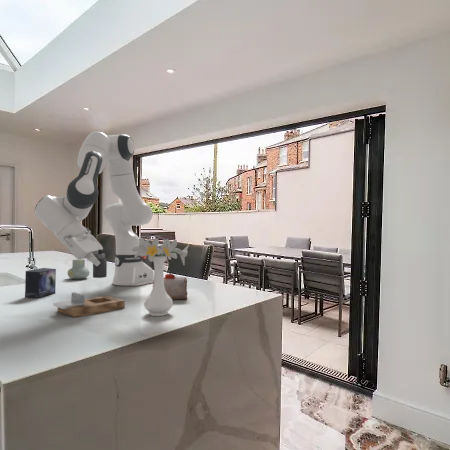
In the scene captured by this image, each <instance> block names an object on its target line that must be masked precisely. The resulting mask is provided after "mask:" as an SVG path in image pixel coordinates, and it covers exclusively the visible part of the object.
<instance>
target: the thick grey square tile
mask: <svg viewBox="0 0 450 450" xmlns="http://www.w3.org/2000/svg"><path fill="white" fill-rule="evenodd" d="M84 299H85V295H84V294H82V293H78V292H75V291H73V292H71V299H70V300H63V301H56V302H53V303H52V304H53V306H54V307H56V308H58V307H59V308H61V309H66V308H72V307H78V306H83V305H84Z"/></svg>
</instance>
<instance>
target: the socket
mask: <svg viewBox="0 0 450 450" xmlns="http://www.w3.org/2000/svg"><path fill="white" fill-rule="evenodd" d="M125 306H126V305H125V300H124V299H120V298H117V297H114V296H110V295H103V296H102V295H101V296H94V297H89V298H84V305H83V306H78V307H72V308H66V309H61V308H59V307H57V311H58V312H59V313H62V314H65V315H66V316H69V317H71V318H74V319H75V318H79V317H80V318H81V317H85V316H91V315H95V314H99V313H105V312H111V311H115V310H121V309H125V308H126V307H125Z"/></svg>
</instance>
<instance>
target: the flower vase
mask: <svg viewBox="0 0 450 450" xmlns="http://www.w3.org/2000/svg"><path fill="white" fill-rule="evenodd" d="M159 242H160V241H159V239H158V238H153V239H152V244H151V243H150V239H149V238H147V239H146V240H145V239H144V237H141V238H139V246H137V247H134V248H133V249H132V251H134V252H137V253H136V254H135V257H137V256H139V255H140V256H146V257H147V256H148V261H149V262H151V263H152V262H153V268H154V270H153V273H154V285H153V284H152V290H151V292H150V294H149V295H148V296H147V297H146V298H145V299H144V303H143V306H144V309H145V310H147V312H148V314H149V316H152V317H163V316H167V315H168V314H169V311H170V310H171V309H172V307H173V306H174V302H173V301H174V300H172V299H171V297H170V296H169V295H168V294H167V292H166V290H165V287H164V277H165V275H164V270H165V269H164V267H165V266H164V265H165V261H166V258H167V259H168V260H169V261H171V260H172V258H173V259H175V260H176V259H178V255H179V257H180V259H181V262H182V265H183V266H185V261H186V259H185V258H186V257H187V256H188V252H189V251H188V249H189V247H190V244H188V245H186V247H184V249H180V248H179V247H178V248H177V246H178V241H177V240H176V239H174V240H172V242H171V241H170V240H169V239H168V238H164V239H163V240H162V242H163V243H159Z"/></svg>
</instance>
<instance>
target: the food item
mask: <svg viewBox="0 0 450 450" xmlns="http://www.w3.org/2000/svg"><path fill="white" fill-rule="evenodd" d="M187 283H188V280H187V277H185V276H176V275H174V274H173V273H167V274H165V275H164V287H165V290H166V292H167V294H168V295H169V296H170V297H171V299H172V301H174V300H176V301H179V300H183V301H184V300H187V299H188V290H187V289H188V284H187ZM153 285H154V280H153V283H152V286H153Z"/></svg>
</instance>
